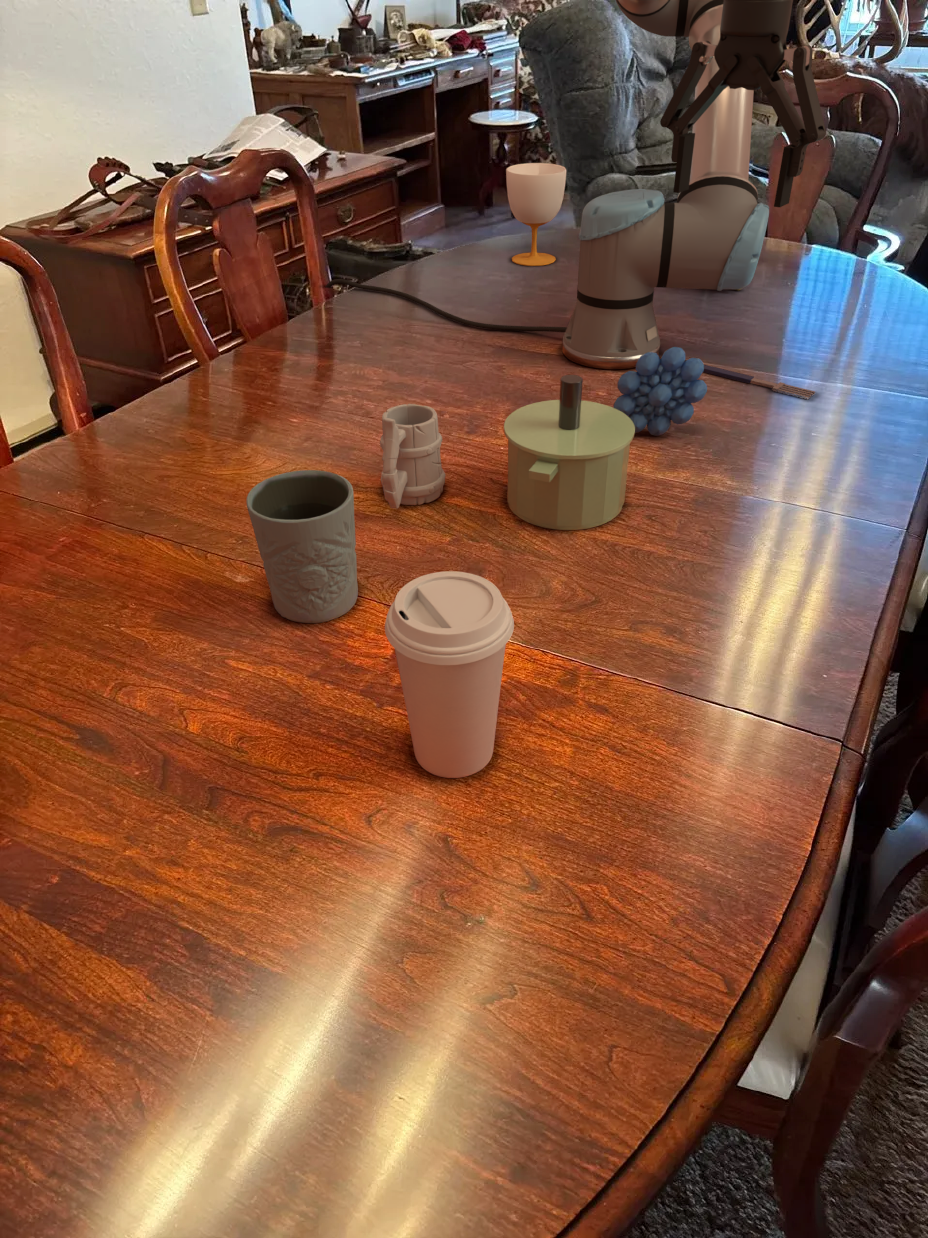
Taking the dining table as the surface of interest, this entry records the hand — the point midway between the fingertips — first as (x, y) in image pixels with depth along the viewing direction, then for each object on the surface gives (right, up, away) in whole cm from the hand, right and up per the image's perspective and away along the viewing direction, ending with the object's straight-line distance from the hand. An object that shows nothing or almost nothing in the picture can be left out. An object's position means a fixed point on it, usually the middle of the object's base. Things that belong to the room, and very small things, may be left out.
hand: (729, 197), depth 115 cm
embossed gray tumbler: (-49, -51, -22) cm, 74 cm away
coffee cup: (-34, -64, -39) cm, 82 cm away
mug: (-40, -39, -6) cm, 56 cm away
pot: (-21, -39, -7) cm, 45 cm away
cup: (-19, +21, +73) cm, 79 cm away
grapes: (-8, -28, +8) cm, 30 cm away
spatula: (+8, -17, +22) cm, 29 cm away
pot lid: (-22, -32, -12) cm, 40 cm away
